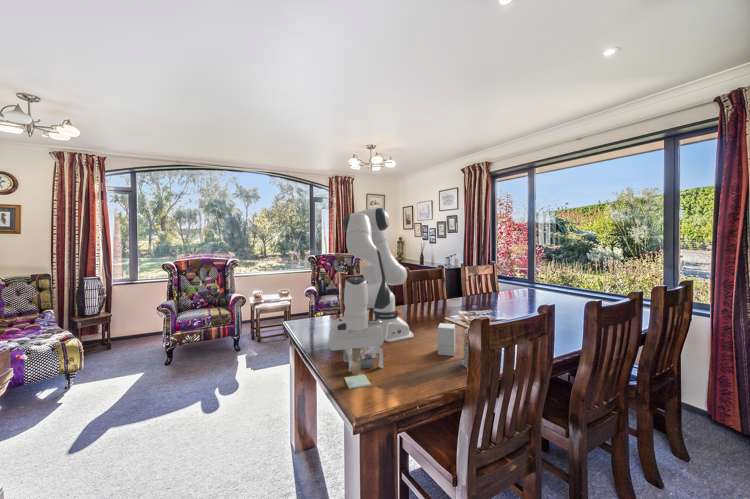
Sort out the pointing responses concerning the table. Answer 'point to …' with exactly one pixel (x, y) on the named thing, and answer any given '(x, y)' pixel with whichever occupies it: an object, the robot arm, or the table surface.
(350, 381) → the coaster
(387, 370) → the table surface
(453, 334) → the supplement box
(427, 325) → the table surface
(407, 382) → the table surface
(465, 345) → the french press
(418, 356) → the table surface
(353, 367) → the dowel
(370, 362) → the box
